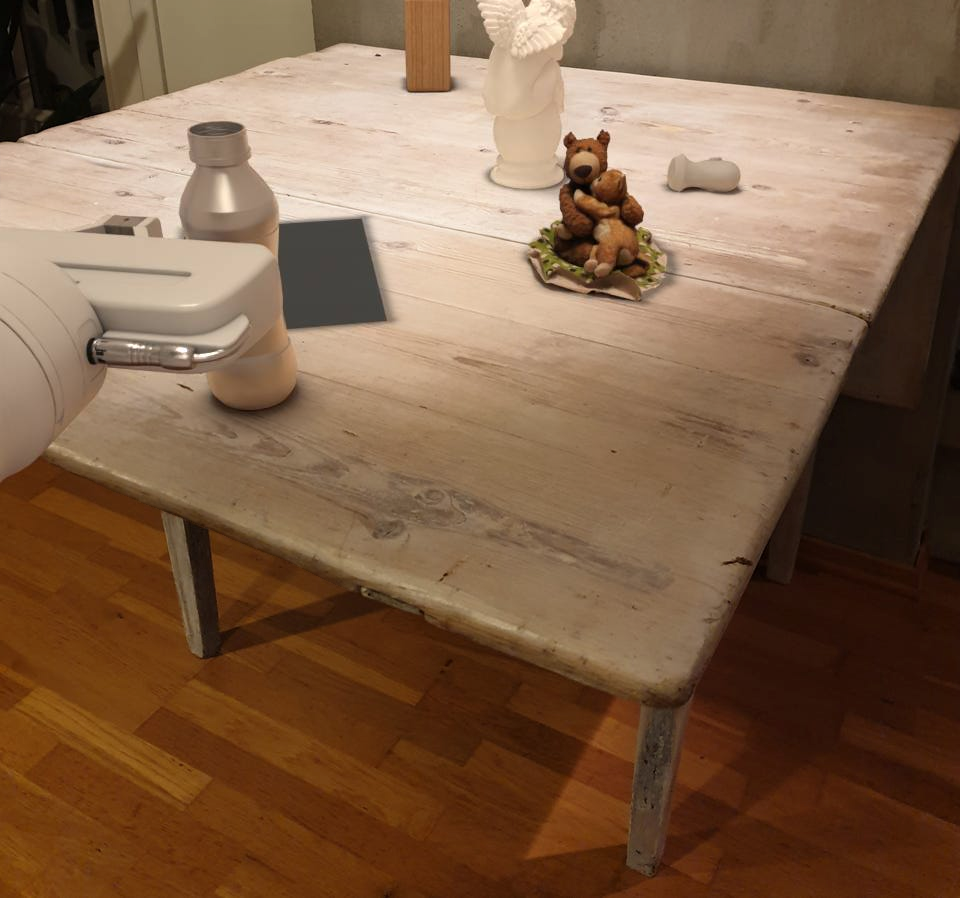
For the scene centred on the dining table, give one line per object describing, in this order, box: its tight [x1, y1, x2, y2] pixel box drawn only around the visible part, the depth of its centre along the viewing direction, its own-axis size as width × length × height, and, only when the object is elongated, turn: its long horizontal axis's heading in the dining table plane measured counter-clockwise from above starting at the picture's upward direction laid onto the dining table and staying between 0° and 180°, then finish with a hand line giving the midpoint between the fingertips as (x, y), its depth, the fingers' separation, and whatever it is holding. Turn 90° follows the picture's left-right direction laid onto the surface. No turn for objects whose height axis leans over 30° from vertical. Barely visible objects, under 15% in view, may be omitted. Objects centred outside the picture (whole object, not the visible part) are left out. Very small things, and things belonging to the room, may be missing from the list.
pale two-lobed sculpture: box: [666, 153, 742, 193], centre depth 109 cm, size 4×8×5 cm
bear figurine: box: [526, 128, 668, 302], centre depth 89 cm, size 14×15×12 cm
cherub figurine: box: [475, 0, 577, 190], centre depth 105 cm, size 12×12×22 cm
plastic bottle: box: [178, 120, 298, 411], centre depth 67 cm, size 6×7×20 cm
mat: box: [183, 218, 388, 330], centre depth 91 cm, size 18×24×1 cm
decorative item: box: [402, 0, 452, 93], centre depth 142 cm, size 7×7×20 cm
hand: (137, 228), depth 53 cm, fingers closed
